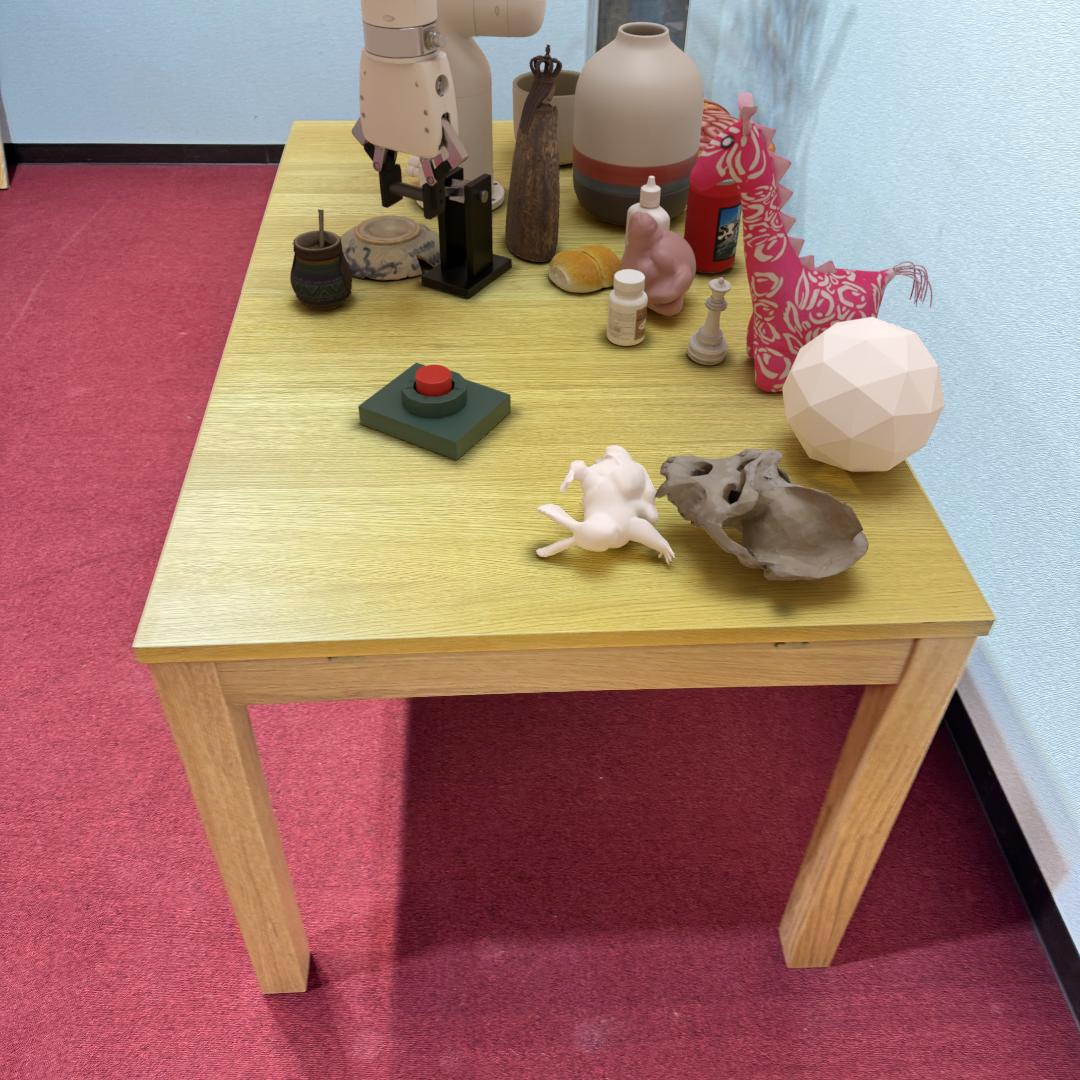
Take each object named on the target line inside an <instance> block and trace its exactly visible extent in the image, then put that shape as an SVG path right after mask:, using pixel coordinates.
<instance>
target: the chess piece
mask: <svg viewBox="0 0 1080 1080" xmlns="http://www.w3.org/2000/svg"><path fill="white" fill-rule="evenodd" d="M708 288H709V289H710V292H711V295H710V296H709V297H707V298H706V300H705V302H704V303H705V304H704V305H705V308H707V310H708V311H707V312H708V313H707V316H706V319H705V321H704V323H703V325H701V326H700V327H699V328H697V331H696V332H694V333H693V334H691V336H690V337H689V339H688V344H687V347H686V354H687V355H688V357H689V358H690V359H691V360H692V361H694V362H695V363H697V364H700V365H704V366H715V365H718V364H720V363H722V362H723V361H725V359H726V356H727V349H728V342H727V340H726V338H725V337H724V332H723V330H722V329H721V328H720V326H721V325H720V322H721V312H724V311H726V309H727V308H728V302H727V300H726V299H725V295H726V294H727V293H729V292H730V291H731V289H732V284H731V282H729V281H728V280H726V279H725V278H724V277H722V276H719V277H718V278H714V279H711V280H710V281H709V284H708Z"/></svg>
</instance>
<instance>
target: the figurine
mask: <svg viewBox="0 0 1080 1080" xmlns="http://www.w3.org/2000/svg"><path fill="white" fill-rule="evenodd" d="M657 226H658V224H657V222H656V220H655V219H654V218H653V217H652V216H651V215H649V214H648V213H643V212H639V211H638V212H635V213H633V214H632V216H631V217H630V221H629V226H628V241H629V243H628V245H627V248H626V250H625V249H624V251H623V254H622V258H621V261H620V262H621V270H625V269H632V270H637V271H640V272H642V273H643V274H644V276H645V286H644V290H643V291H644V292H645V293H646V294H647V297H648V302H647V309H650V310H652V311H654V312H656V313H657V314H660V315H663V316H665V317H670V316H675V315H677V314H678V313H680V312H681V311H682V309H683V308H684V302H685V297H686V294H687V292H688V291H689V290H690V289H691V286H692V284H693V282H694V280H695V276H696V272H697V271H696V261H695V256H694V253H693V250H692V248H691V247H690V245H689V244H688V242H687V241H686V240H685V239H684V236H681V235H680V234H679V233H677V232H675V231H673V230H671V229H670V230H666V229H659V228H658V227H657Z"/></svg>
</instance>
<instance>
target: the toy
mask: <svg viewBox="0 0 1080 1080" xmlns="http://www.w3.org/2000/svg"><path fill="white" fill-rule="evenodd" d="M736 99H737V107H738V110H739V115H738V119H739V122H737V123H734V124H732V125H731V126H729V127H728V128H726V129H725V130H724V131H722V132H721V133H720V134H719V135H718V136H716V137H715V138H714V139H713V140H712V141H711V142H710V143H709V144H708V145H707V146H706V148H705V149H704V150H703V152H702V154H701V155H700V157H699V158H698V160H697V162H696V164H695V166H694V168H693V169H692V172H691V174H690V183H691V185H693V186H695V187H697V189H698V190H700V191H702V190H705V189H709V188H711V187H712V186H714V185H716V184H718V183H720V182H722V181H724V180H727V179H732V180H734V181H735V182H736V184H737V187H738V190H739V194H740V198H741V205H742V212H741V218H742V240H743V241H742V242H743V254H744V263H745V268H746V269H745V270H746V276H747V277H746V278H747V282H748V289H749V292H750V293H749V294H750V299H751V307H752V314H751V316H750V318H749V321H748V325H747V328H746V342H745V343H746V345H745V346H746V347H745V350H746V354H747V355H748V357H749V358H751V359H752V360H753V361H754V362H753V363H754V381H755V384H756V385H757V387H758V388H759V389H761V390H762V391H764V392H767V393H780V392H783V390H782V388H783V385H784V383H785V381H786V379H787V377H788V374H789V372H790V370H791V368H792V365H793V363H794V361H795V359H796V357H797V354H798V352H799V350H800V348H802V347H803V346H805V345H806V344H807V343H809V342H810V341H812V340H813V339H814V338H816V337H817V336H819V335H820V334H821V333H823V332H824V331H826V330H827V329H828V328H830V327H831V326H833V325H834V324H835V323H838V322H844V321H850V320H856V319H862V318H868V317H874V318H877V319H878V316H879V312H880V308H881V305H882V301H883V298H884V295H885V293H886V288H887V286H888V284H890V282H891V281H893V279H894V278H895V277H896V276H904V277H908V278H910V279H913V283H912V287H911V288H912V289H911V293H910V297H909V300H911V299H912V297H913V294H914V300H913V305H915V307H917V305H918V300H920V302H921V305H923V304H924V302H925V299H926V297H927V293H928V289H929V290H930V300H929V301H930V303H929V308H930V309H931V307H932V305H933V288H932V285H931V282H930V281H929V274H928V271H927V269H926V268H925V266H924V265H922V264H918V263H914V262H912V261H910V260H904V261H902V262H899V263H896V265H894V266H893V267H891V268H887V269H883V270H876V271H875V270H861V269H851V268H836V265H835V263H834V262H833V260H830V259H829V260H827V261H826V262H824V263H821V264H820V265H818V266H815V255H814V254H810V255H805V256H801V257H800V254H801V251H802V249H803V247H804V245H805V241H806V240H805V239H804V238H800V237H795V236H794V237H793V236H789V235H788V234H789V232H790V231H791V229H793V227H794V225H795V224H796V222H797V218H796V217H794V216H792V215H789V214H787V213H785V212H782V209H783V207H785V205H786V204H787V202H789V200H790V199H791V197H793V195H794V191H793V190H791V189H790V188H788V187H786V186H784V185H783V184H781V183H780V181H781V180H782V179H783V177H784V176H785V174H786V173H787V171H788V170H789V169H790V167H791V166H792V164H793V163H792V161H791V160H789V159H787V158H786V157H784V156H781V155H780V154H778V153H776V152H775V153H773V152H771V151H769V150H768V148H769V146H770V143H771V141H772V142H773V140H774V137H775V135H776V132H777V130H776V128H774V127H769V126H765V125H762V124H759V123H754V121H753V120H751V118H752V117H753V116H754V115H756V113H757V112H758V105H756V106H754V96H753V94H752V92H750V91H743V92H738V93H737V97H736ZM903 264H907V265H903ZM918 267H920V268H918ZM921 268H922V269H921ZM911 270H912V271H911ZM917 271H918V272H917ZM922 273H923V274H922ZM917 275H918V276H920V280H919V279H918V277H917ZM923 279H924V280H923Z"/></svg>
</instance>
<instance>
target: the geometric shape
mask: <svg viewBox="0 0 1080 1080" xmlns="http://www.w3.org/2000/svg"><path fill="white" fill-rule="evenodd" d="M782 390H783V391H782V397H783V398H782V399H783V406H784V414H785V421H786V422H787V424H788V426H789V428H790V429H791V431H792V433H793V434H794V435H795V437H796V439H797V440H798V442H799V443H800V445H801V447H802V448H803V450H804V452H805V453H806V455H807V457H808V458H809V459H810V460H814V461H817V462H819V463H823V464H826V465H829V466H833V467H835V468H838V469H842V470H844V471H848V472H851V473H865V472H866V473H868V472H871V473H872V472H888V471H890V470H891V469H893V468H894V467H896V466H898V465H899V464H900V463H902V462H903V461H905V460H906V459H909V458H910V457H911V456H912V455H914V454H916V453H917V452H918V451H921V450H922V449H923V448H925V447H927V444H928V442H929V440H930V437H931V435H933V434H932V433H933V432H934V429H935V427H936V425H937V423H938V421H939V419H940V417H941V415H942V412H943V410H944V408H945V406H946V401H945V397H944V390H943V385H942V379H941V373H940V369H939V365H938V363H937V362H936V361H935V359H934V357H933V356H932V355H931V353H930V351H929V350H928V348H927V347H926V346H925V344H924V343H923V341H922V339H921V338H920V337H919V335H918V334H917V332H915V331H912V330H910V329H907V328H903V327H901V326H899V325H896V324H893V323H890V322H888V321H885V320H882V319H881V318H878V317H877V318H874V317H868V318H862V319H856V320H850V321H844V322H838V323H835V324H834V325H833V326H831V327H830V328H828V329H827V330H826V331H824V332H823V333H821V334H820V335H819V336H817V337H816V338H814V339H813V340H812V341H810V342H809V343H807V344H806V345H805V346H803V347H802V348H800V350H799V352H798V354H797V357H796V359H795V361H794V363H793V365H792V368H791V370H790V372H789V374H788V377H787V379H786V381H785V383H784V385H783V388H782Z"/></svg>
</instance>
